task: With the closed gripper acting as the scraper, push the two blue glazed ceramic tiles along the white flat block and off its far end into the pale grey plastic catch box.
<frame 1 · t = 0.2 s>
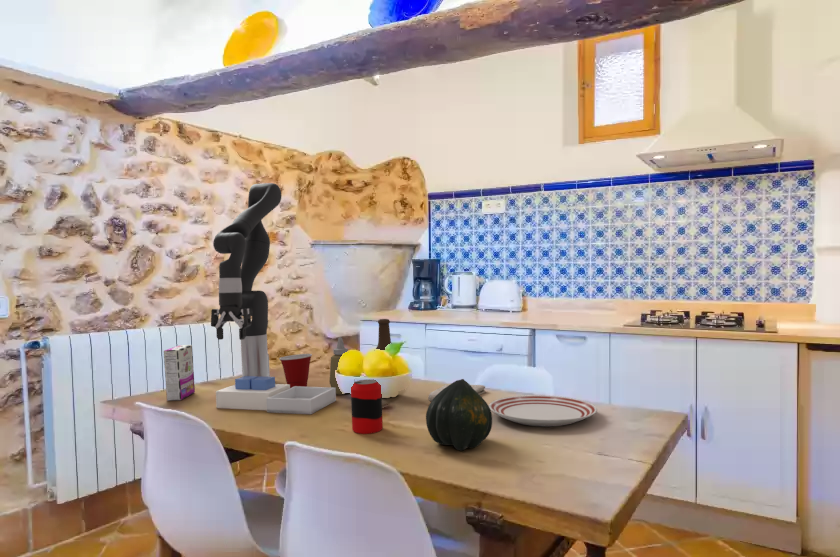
hand: (231, 339, 194), 18 cm above the table, tool pointing down, fingers open, 8 cm apart
tile back: (247, 387, 174), point 5 cm above the table, touching white flat block
dinner plate: (542, 418, 148), on the table
white flat block: (254, 404, 174), on the table
squash: (459, 445, 128), on the table
soda can: (367, 430, 142), on the table
squeeze bottle: (342, 393, 185), on the table
catch box: (302, 406, 169), on the table
washcloth: (458, 398, 175), on the table
plastic cup: (297, 391, 191), on the table
beer bottle: (386, 396, 178), on the table
candy bar box: (180, 397, 188), on the table
tile 2: (263, 388, 173), point 5 cm above the table, touching white flat block
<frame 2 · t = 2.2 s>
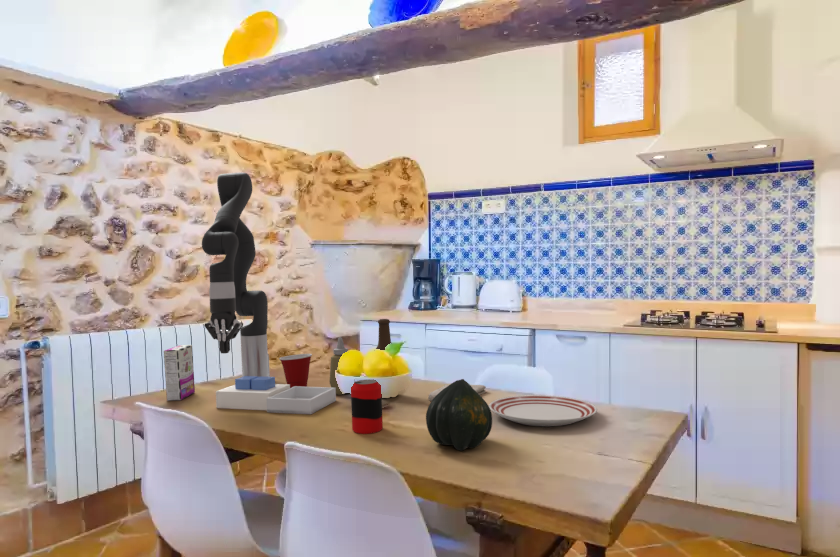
hand: (224, 353, 176), 16 cm above the table, tool pointing down, fingers closed
nothing on the table moved.
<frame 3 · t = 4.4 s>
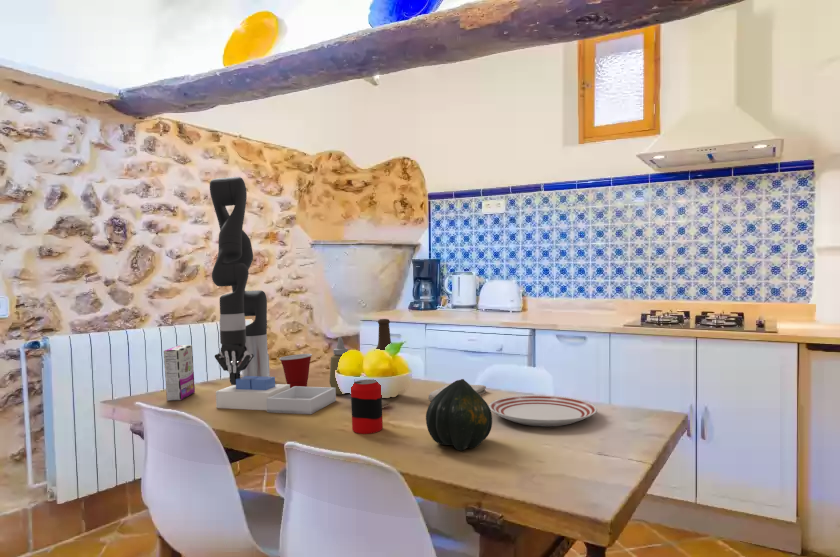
hand: (235, 384, 175), 6 cm above the table, tool pointing down, fingers closed
tile back: (248, 387, 174), point 5 cm above the table, touching gripper
everything else where it was.
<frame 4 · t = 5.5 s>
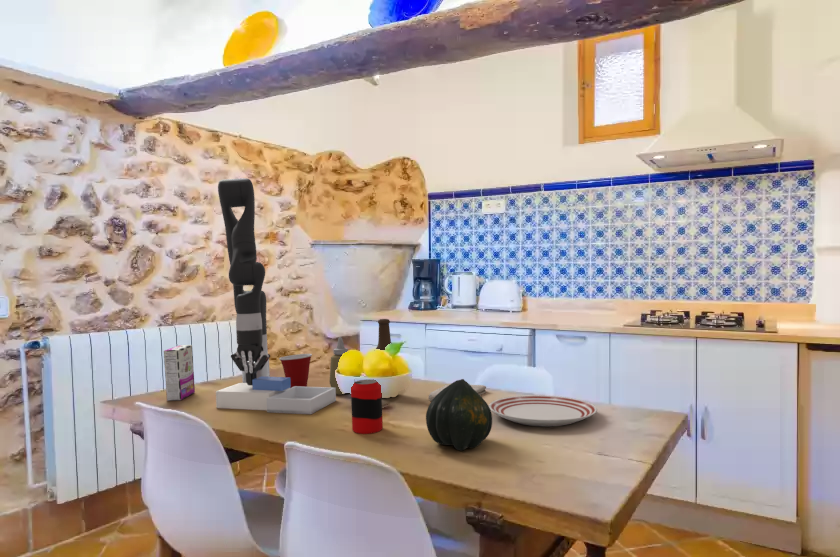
hand: (251, 384, 174), 6 cm above the table, tool pointing down, fingers closed
tile back: (264, 388, 173), point 5 cm above the table, touching gripper
tile 2: (279, 388, 171), point 5 cm above the table
everything else where it was.
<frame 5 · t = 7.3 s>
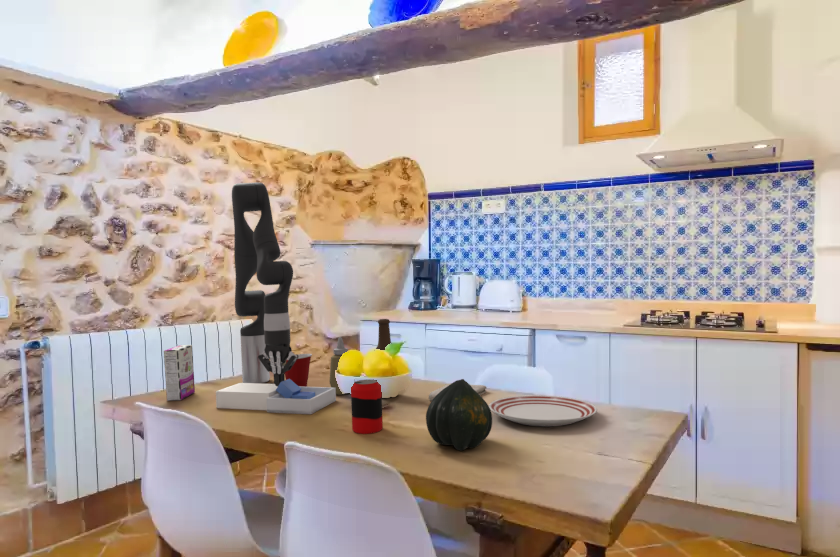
hand: (279, 385, 171), 6 cm above the table, tool pointing down, fingers closed
tile back: (286, 393, 170), point 4 cm above the table, tilted 36°, touching gripper, tile 2
tile 2: (303, 393, 168), point 4 cm above the table, tilted 180°, touching catch box, tile back
everything else where it was.
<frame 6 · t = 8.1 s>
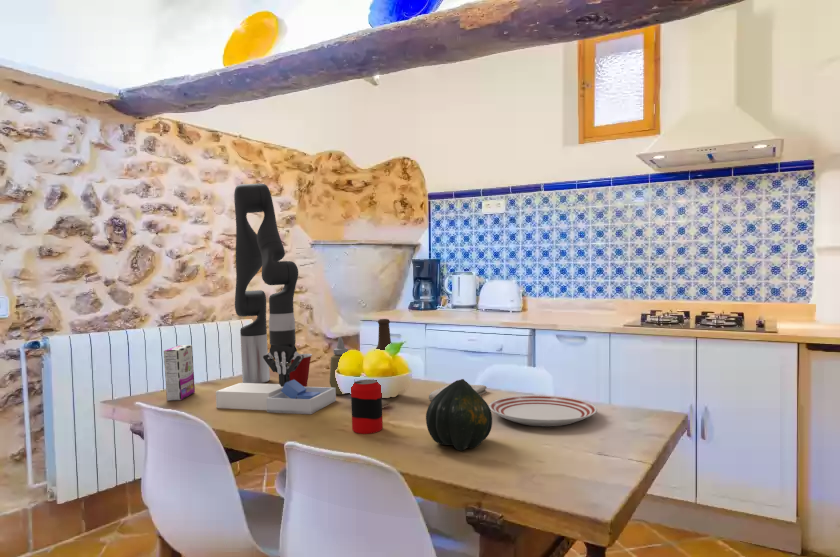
hand: (284, 386, 170), 6 cm above the table, tool pointing down, fingers closed
tile back: (291, 394, 170), point 4 cm above the table, tilted 34°, touching gripper, tile 2
tile 2: (308, 393, 168), point 4 cm above the table, tilted 180°, touching catch box, tile back
everything else where it was.
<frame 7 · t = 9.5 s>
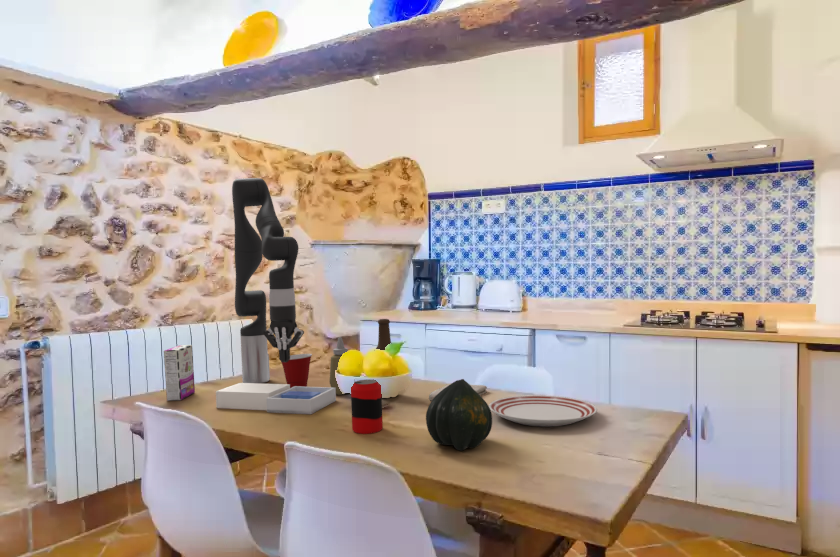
hand: (284, 361, 170), 13 cm above the table, tool pointing down, fingers closed
tile back: (293, 403, 170), point 1 cm above the table, touching catch box
tile 2: (309, 393, 168), point 4 cm above the table, tilted 180°, touching catch box
everything else where it was.
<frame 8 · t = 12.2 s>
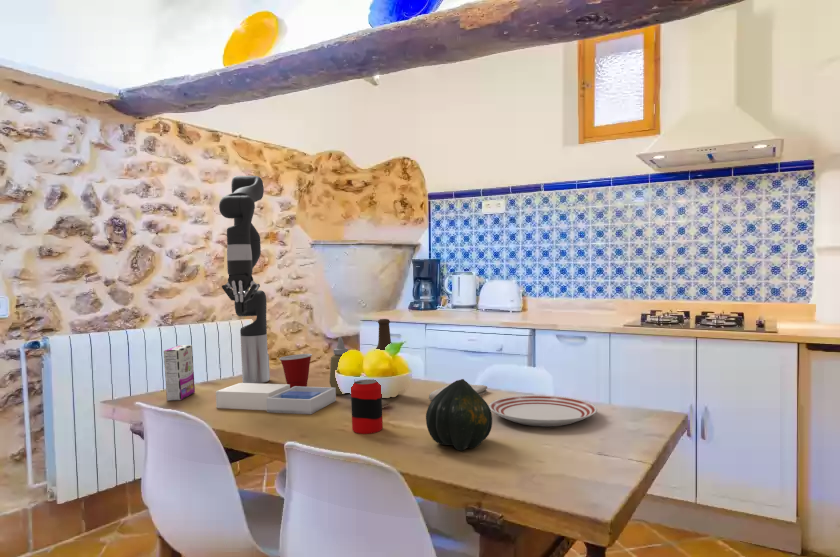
hand: (242, 313, 181), 27 cm above the table, tool pointing down, fingers closed
nothing on the table moved.
at the end: tile 2 inside the target area on the catch box (2.3 cm from its centre), point 3.8 cm above the catch box's base; tile back inside the target area on the catch box (2.9 cm from its centre), point 0.8 cm above the catch box's base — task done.
